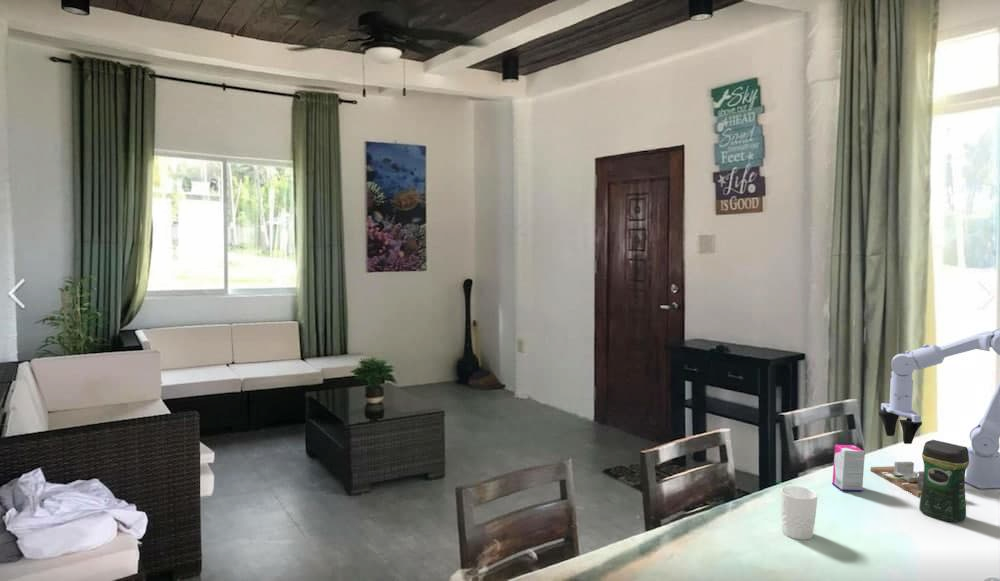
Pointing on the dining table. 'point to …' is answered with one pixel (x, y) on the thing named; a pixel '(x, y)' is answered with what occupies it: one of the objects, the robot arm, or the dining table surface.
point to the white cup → (798, 512)
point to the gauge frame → (900, 479)
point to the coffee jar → (944, 480)
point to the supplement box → (848, 468)
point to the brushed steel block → (905, 471)
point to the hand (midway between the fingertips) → (898, 439)
